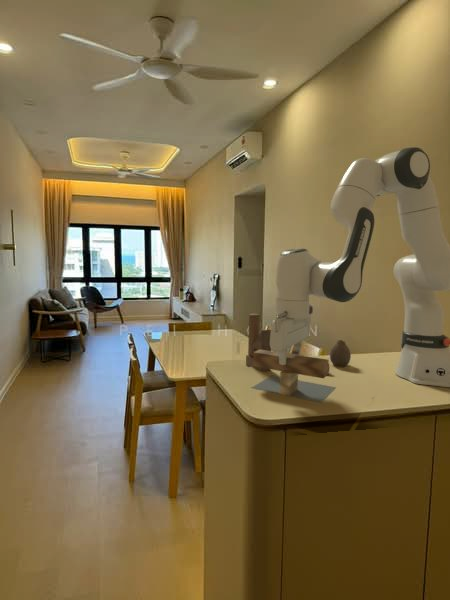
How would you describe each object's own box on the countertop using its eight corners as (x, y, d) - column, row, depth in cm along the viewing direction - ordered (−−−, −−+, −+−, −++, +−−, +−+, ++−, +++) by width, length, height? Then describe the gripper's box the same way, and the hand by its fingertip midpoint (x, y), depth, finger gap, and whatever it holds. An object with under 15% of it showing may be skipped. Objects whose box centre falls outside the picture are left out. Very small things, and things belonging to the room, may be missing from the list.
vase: (328, 366, 136) (329, 341, 135) (331, 361, 143) (332, 338, 142) (349, 369, 134) (350, 343, 133) (351, 364, 140) (352, 340, 139)
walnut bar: (328, 374, 104) (328, 359, 104) (323, 378, 101) (324, 363, 100) (259, 362, 114) (259, 349, 114) (253, 366, 111) (253, 352, 110)
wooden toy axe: (261, 373, 127) (262, 318, 125) (245, 365, 136) (246, 313, 134) (270, 372, 128) (272, 317, 126) (254, 364, 138) (256, 313, 136)
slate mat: (336, 390, 112) (336, 387, 112) (320, 405, 101) (321, 402, 100) (271, 377, 123) (271, 375, 123) (251, 390, 111) (251, 387, 111)
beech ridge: (297, 389, 110) (298, 368, 109) (289, 395, 105) (290, 373, 104) (288, 387, 111) (288, 366, 111) (279, 393, 106) (280, 372, 106)
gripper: (288, 315, 95) (286, 371, 97) (315, 306, 113) (313, 354, 114) (264, 313, 98) (262, 367, 100) (294, 305, 116) (292, 351, 117)
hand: (289, 360), depth 107 cm, fingers open, 8 cm apart
